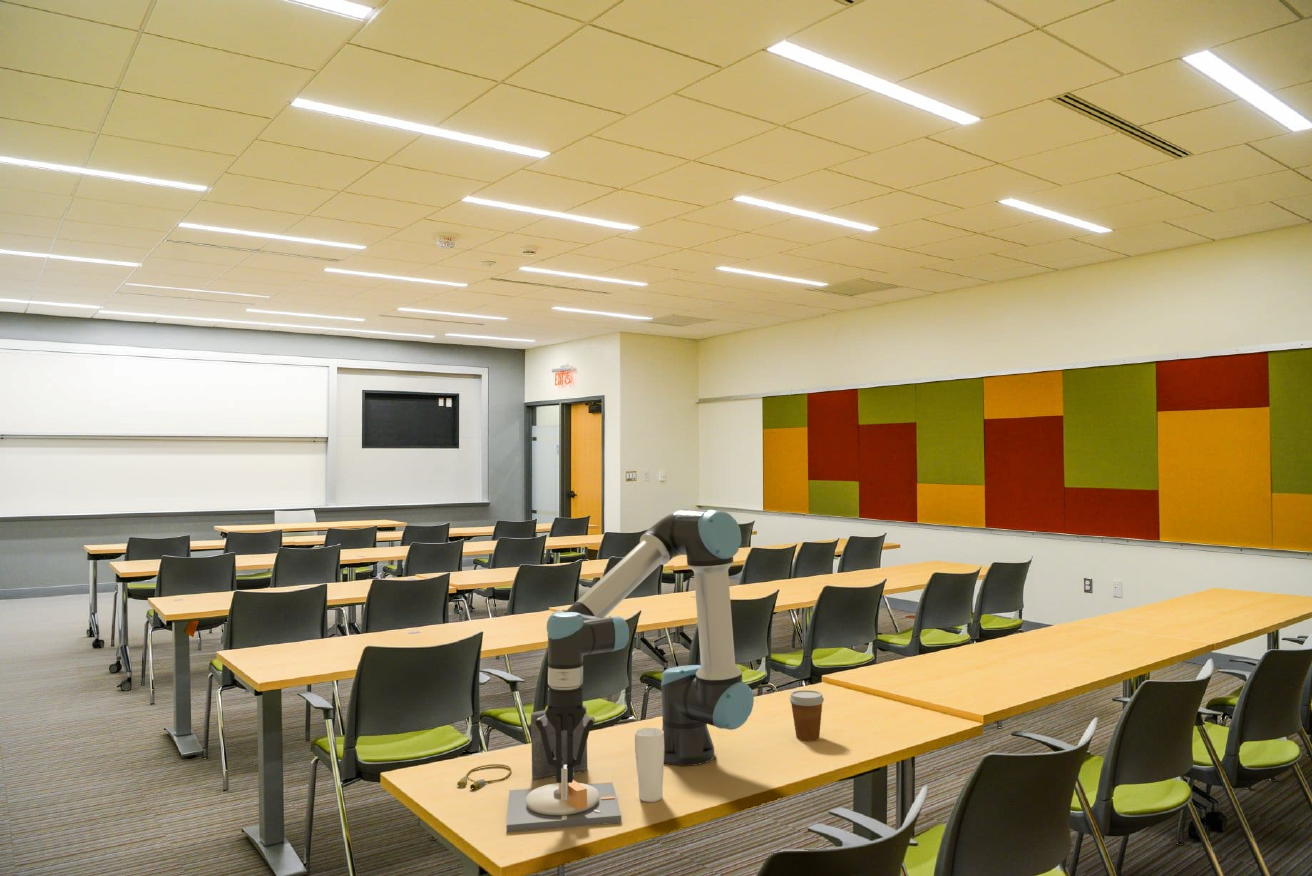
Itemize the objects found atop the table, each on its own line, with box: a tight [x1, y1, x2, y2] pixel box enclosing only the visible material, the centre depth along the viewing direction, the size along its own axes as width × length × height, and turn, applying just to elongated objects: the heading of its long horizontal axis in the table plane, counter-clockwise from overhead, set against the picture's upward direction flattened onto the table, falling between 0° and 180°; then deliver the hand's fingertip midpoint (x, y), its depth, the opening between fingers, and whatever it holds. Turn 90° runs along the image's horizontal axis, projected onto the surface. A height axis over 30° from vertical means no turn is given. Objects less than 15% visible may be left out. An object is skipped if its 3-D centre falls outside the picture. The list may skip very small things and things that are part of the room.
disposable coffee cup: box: [788, 689, 825, 742], centre depth 233 cm, size 10×10×12 cm
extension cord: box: [456, 763, 512, 791], centre depth 208 cm, size 12×16×2 cm
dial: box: [526, 779, 599, 815], centre depth 186 cm, size 18×16×5 cm
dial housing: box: [506, 781, 622, 833], centre depth 187 cm, size 24×20×2 cm
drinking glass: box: [634, 727, 665, 803], centre depth 192 cm, size 7×7×15 cm
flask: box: [530, 705, 589, 781], centre depth 210 cm, size 4×14×18 cm, turn 116°
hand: (565, 797), depth 180 cm, fingers closed
